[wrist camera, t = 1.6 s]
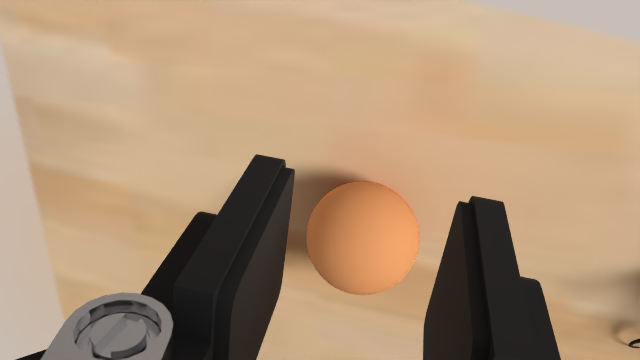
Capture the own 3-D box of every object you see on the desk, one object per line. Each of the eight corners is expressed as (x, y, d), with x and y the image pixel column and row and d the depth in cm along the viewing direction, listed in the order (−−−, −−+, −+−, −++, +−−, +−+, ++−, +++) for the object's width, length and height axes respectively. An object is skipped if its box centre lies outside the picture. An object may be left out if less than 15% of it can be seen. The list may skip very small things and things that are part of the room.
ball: (430, 173, 29) (430, 233, 24) (409, 260, 31) (405, 329, 27) (323, 153, 29) (302, 207, 24) (311, 240, 32) (290, 305, 27)
